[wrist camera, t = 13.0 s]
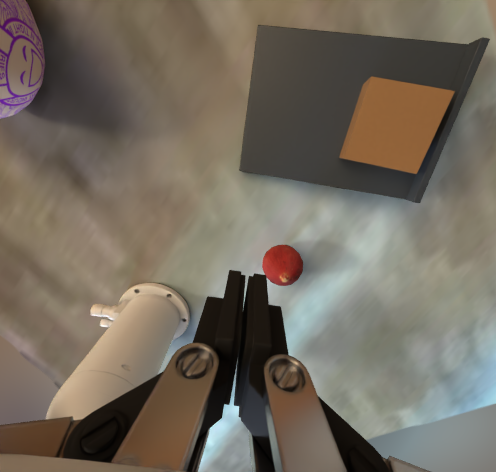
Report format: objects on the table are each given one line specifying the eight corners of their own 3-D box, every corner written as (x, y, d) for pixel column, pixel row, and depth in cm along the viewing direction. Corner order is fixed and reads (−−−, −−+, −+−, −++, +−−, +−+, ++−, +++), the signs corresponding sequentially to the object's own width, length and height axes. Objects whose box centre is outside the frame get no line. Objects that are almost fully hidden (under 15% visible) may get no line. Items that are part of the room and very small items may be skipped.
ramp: (239, 169, 33) (236, 175, 27) (257, 28, 27) (258, -2, 21) (392, 193, 33) (419, 203, 28) (442, 60, 28) (490, 38, 22)
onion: (304, 245, 37) (317, 271, 29) (288, 274, 39) (296, 305, 31) (271, 231, 36) (275, 254, 29) (256, 261, 38) (256, 290, 31)
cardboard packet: (335, 156, 29) (347, 159, 25) (359, 83, 26) (377, 72, 22) (399, 170, 29) (420, 174, 26) (429, 99, 26) (459, 91, 23)
